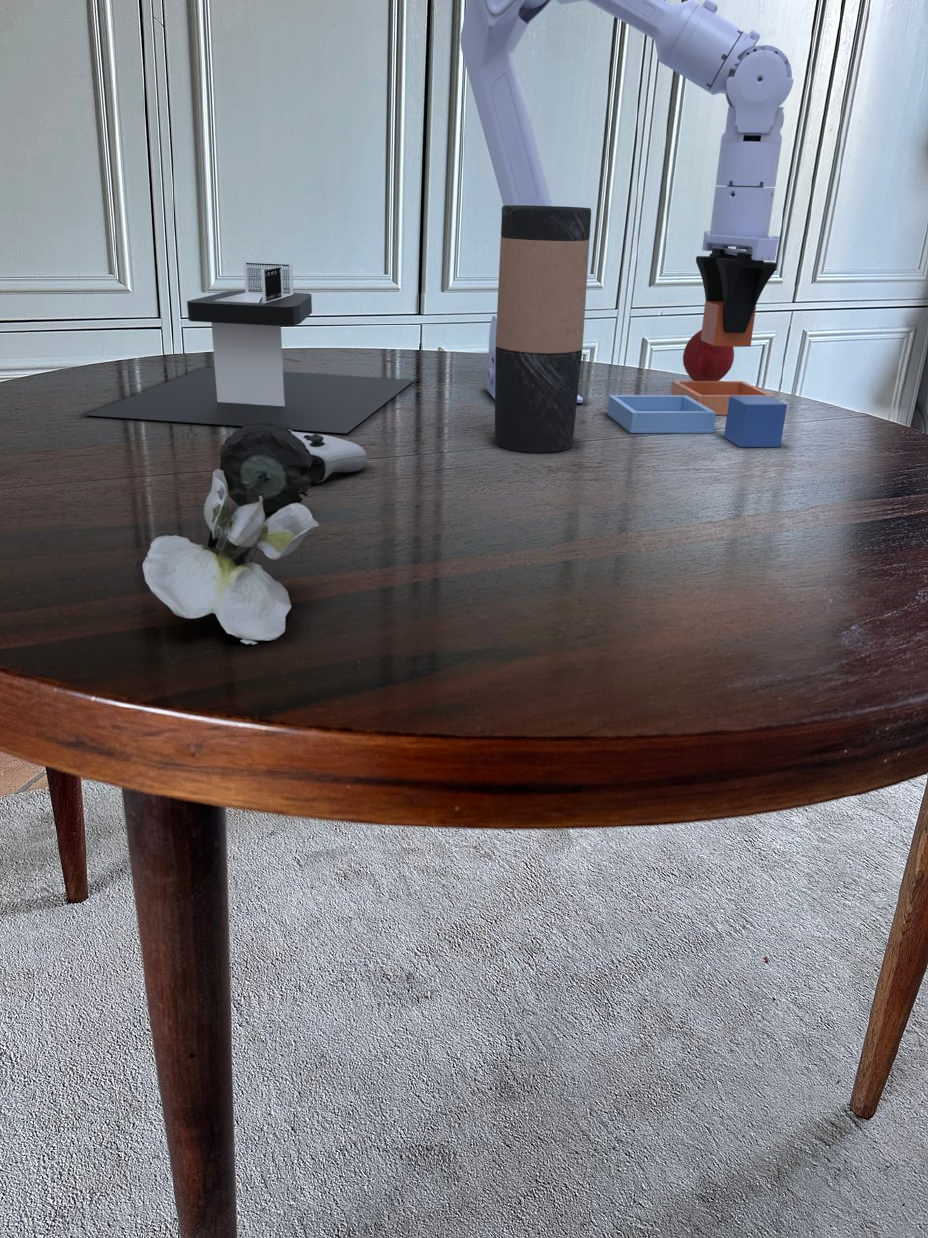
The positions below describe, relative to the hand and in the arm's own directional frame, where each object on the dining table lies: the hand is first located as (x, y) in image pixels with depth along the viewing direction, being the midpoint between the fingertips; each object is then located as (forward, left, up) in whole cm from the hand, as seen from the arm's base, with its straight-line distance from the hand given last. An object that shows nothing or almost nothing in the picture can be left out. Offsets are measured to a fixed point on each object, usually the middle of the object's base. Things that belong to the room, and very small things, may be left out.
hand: (726, 329), depth 103 cm
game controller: (-44, -23, -9) cm, 50 cm away
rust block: (0, 0, -1) cm, 1 cm away
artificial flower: (-46, -45, -9) cm, 65 cm away
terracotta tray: (+1, +2, -8) cm, 9 cm away
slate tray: (-8, -6, -8) cm, 13 cm away
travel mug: (-23, -14, -9) cm, 28 cm away
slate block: (-2, -14, -8) cm, 17 cm away
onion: (+3, +12, -9) cm, 15 cm away
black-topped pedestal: (-48, +7, -9) cm, 49 cm away
